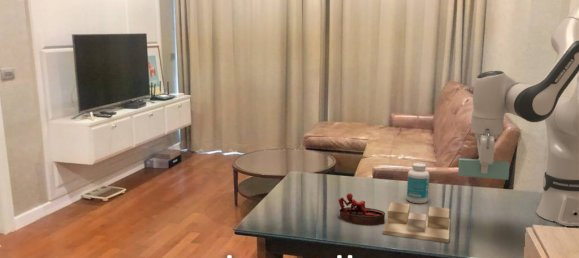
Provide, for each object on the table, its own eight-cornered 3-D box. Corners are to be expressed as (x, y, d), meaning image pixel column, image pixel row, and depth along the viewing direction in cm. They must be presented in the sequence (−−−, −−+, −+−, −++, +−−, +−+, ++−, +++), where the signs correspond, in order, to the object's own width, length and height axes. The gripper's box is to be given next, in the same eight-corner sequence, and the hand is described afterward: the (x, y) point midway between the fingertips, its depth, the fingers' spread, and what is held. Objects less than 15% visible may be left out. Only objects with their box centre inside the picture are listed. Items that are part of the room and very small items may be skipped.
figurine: (337, 225, 153) (337, 192, 155) (339, 226, 162) (339, 195, 164) (385, 226, 150) (384, 192, 153) (385, 227, 159) (384, 195, 162)
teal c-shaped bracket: (504, 169, 154) (506, 153, 153) (508, 179, 143) (509, 163, 142) (458, 165, 158) (459, 150, 157) (458, 175, 147) (459, 159, 146)
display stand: (449, 222, 154) (450, 207, 153) (448, 243, 139) (449, 226, 138) (389, 215, 160) (390, 200, 159) (382, 234, 146) (383, 218, 145)
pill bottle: (430, 204, 170) (432, 167, 168) (409, 204, 171) (411, 167, 168) (424, 197, 178) (426, 161, 175) (404, 197, 178) (406, 161, 175)
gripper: (501, 134, 132) (497, 182, 135) (496, 120, 151) (492, 163, 154) (476, 132, 134) (473, 180, 137) (474, 119, 153) (471, 161, 156)
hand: (483, 171), depth 146 cm, fingers closed on teal c-shaped bracket
